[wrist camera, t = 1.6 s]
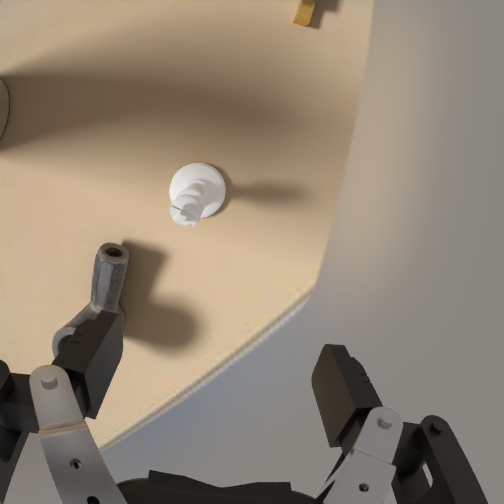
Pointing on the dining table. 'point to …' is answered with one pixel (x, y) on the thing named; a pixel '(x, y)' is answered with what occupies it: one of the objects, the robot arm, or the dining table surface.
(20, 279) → the dining table surface
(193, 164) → the chess piece
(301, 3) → the bracket
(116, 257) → the pipe
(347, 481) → the robot arm
